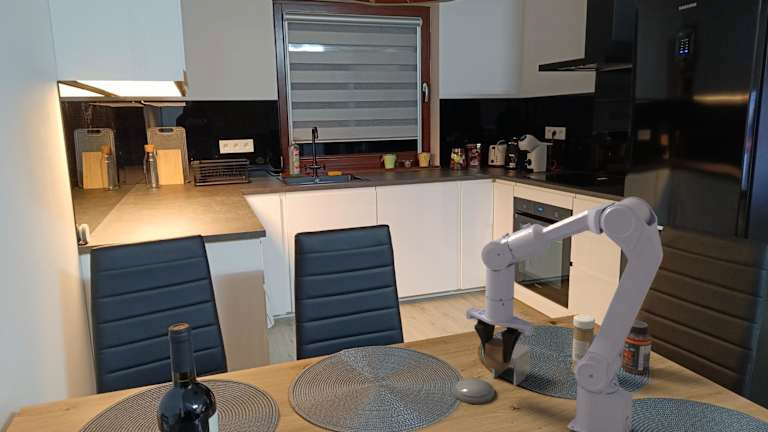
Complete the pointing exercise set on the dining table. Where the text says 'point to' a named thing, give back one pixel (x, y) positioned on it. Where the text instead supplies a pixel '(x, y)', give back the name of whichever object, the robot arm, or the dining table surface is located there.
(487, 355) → the block
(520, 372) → the cover
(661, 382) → the dining table surface
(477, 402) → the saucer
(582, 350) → the sprinkles bottle
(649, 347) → the supplement bottle
